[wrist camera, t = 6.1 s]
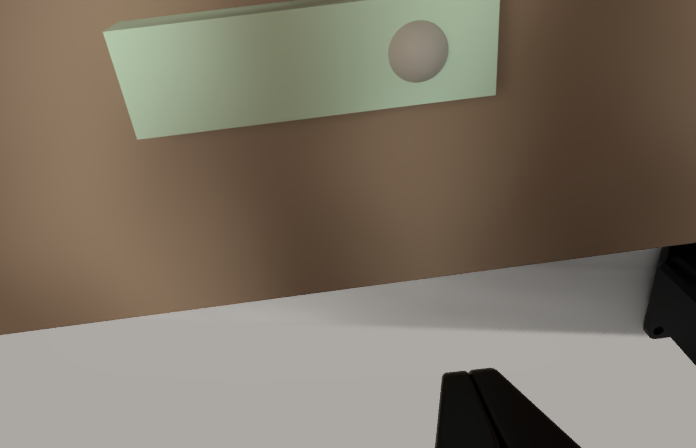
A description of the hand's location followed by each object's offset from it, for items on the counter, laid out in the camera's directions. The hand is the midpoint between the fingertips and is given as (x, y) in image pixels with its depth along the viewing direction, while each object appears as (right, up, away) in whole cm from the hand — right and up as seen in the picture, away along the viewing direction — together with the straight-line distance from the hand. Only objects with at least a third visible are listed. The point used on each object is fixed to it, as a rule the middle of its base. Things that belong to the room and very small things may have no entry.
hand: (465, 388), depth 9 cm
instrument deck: (-3, +7, +3) cm, 8 cm away
